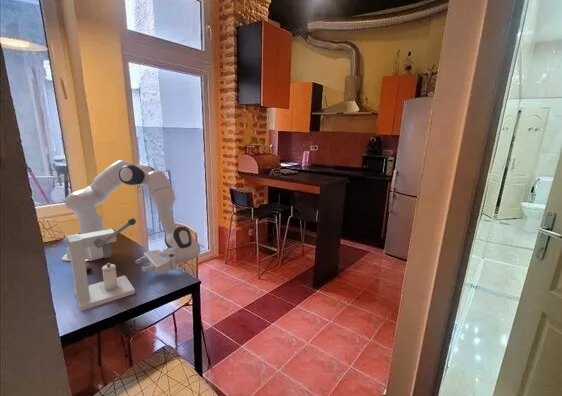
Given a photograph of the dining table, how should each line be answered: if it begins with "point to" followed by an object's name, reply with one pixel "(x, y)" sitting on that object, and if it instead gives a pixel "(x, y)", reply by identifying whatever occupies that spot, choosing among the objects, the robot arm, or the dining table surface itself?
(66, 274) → the dining table surface
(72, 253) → the press
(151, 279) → the dining table surface
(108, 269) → the white lidded bottle
